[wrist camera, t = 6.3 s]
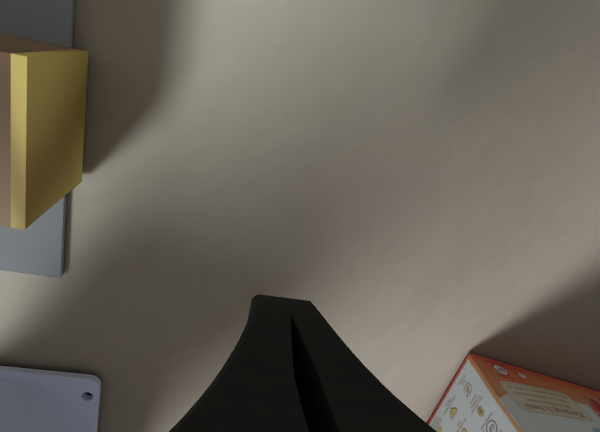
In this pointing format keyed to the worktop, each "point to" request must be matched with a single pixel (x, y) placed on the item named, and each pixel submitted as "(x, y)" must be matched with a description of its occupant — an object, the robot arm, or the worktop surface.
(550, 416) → the cracker box
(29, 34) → the grey mat
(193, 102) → the worktop surface
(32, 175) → the brown wooden block
